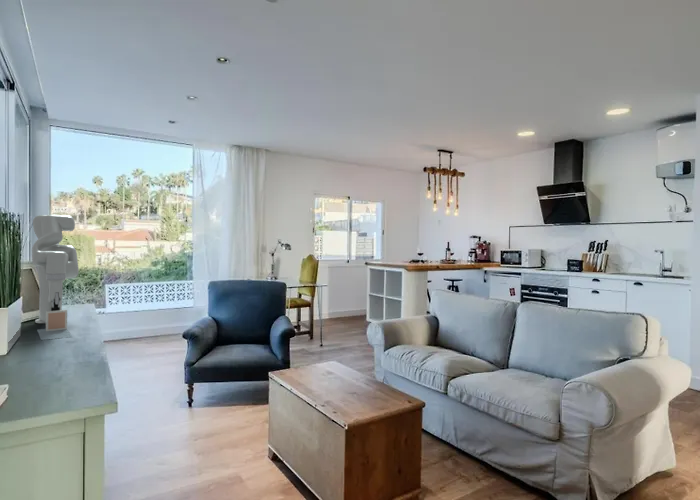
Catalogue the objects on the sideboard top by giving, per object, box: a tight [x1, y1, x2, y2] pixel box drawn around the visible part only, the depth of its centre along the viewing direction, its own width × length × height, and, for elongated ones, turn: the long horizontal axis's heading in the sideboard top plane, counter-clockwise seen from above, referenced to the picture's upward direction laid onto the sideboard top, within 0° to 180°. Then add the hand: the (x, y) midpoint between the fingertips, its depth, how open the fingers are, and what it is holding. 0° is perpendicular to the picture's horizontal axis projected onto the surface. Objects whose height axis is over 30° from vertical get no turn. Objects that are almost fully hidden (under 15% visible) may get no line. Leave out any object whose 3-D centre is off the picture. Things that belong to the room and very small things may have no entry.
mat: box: [36, 328, 73, 341], centre depth 187 cm, size 24×11×1 cm, turn 41°
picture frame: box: [45, 309, 68, 331], centre depth 193 cm, size 2×8×9 cm, turn 131°
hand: (55, 315), depth 197 cm, fingers closed
